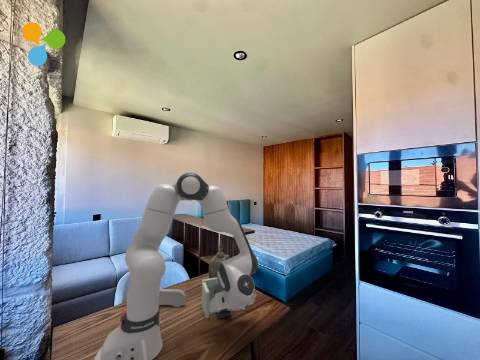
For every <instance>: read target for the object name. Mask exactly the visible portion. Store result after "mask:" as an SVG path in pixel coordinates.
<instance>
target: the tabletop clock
mask: <svg viewBox="0 0 480 360" xmlns="http://www.w3.org/2000/svg"><path fill="white" fill-rule="evenodd" d="M220 247H221V248H220ZM223 247H224V246H223V244H222V243H221V244H219V246H218V248H217V250H218V251H217V253H216V254H215V255H214V256H213V257H211V258H210V260H209V262H208V264H209V265H208V279H210V278H217V268H218V265H219V263H221V262H223V261H225V260H227V259H229V258H231V255H230V254H225V253H224V251H223V249H224V248H223Z"/></svg>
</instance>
